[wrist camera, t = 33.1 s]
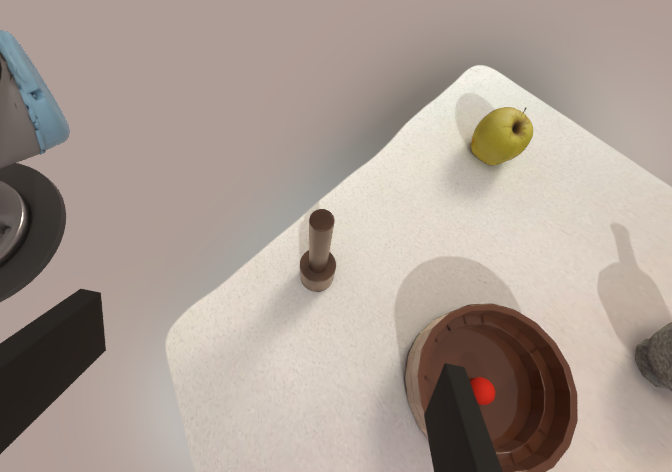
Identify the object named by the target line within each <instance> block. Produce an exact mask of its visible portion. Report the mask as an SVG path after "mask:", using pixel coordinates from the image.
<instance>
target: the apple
mask: <svg viewBox="0 0 672 472" xmlns="http://www.w3.org/2000/svg"><path fill="white" fill-rule="evenodd" d="M525 110H526V108H525ZM525 110H524V111H525ZM532 136H533V126H532V123H531V121H530V120H529V119H528V117H527V116H526V115H525V114H524V112H521V111H519V110H517V109H515V108H511V107H504V108H499V109H496V110H494V111H492V112H491V113H489V114H488V115H486V116H485V117H484V118H483V119H482V120H481V122H480V123H479V124H478V126H477V128H476V129H475V132H474V134H473V137H472V143H471V149H472V152H473V153H474V155H475V156H476V157H478V158H479V159H480V160H481V161H483V162H485V163H486V164H488V165H497V164H500V163H503V162H505V161H508V160H510V159H513V158H515V157H516V156H518V155H519V154H520V153H522V152H523V151H524V150H525V148H526V147H527V146H528V144H529V142H530V141H531V139H532Z"/></svg>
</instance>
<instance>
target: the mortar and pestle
mask: <svg viewBox="0 0 672 472" xmlns="http://www.w3.org/2000/svg"><path fill="white" fill-rule="evenodd" d="M635 360H636V362H637V364H638V366H639V369H640V371H641V373H642V375H643V376H644V377H645V378H647V379H648V380H649V381H650V382H651V383H653V384H654V385H655V386H657V387H663V388H669V389H670V390H672V322H671V323H669V324H668V325H666V326H665V327H663V328H662V329H661V330H659V331H658V332H656V333H655V334H654V335H653V336H652V337H651V338H650V339H646V340H645V341H643V342H642V343H641V344H639V345H638V346H637V351H636V359H635Z"/></svg>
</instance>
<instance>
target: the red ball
mask: <svg viewBox="0 0 672 472" xmlns="http://www.w3.org/2000/svg"><path fill="white" fill-rule="evenodd" d="M470 383H471V386H472V389H473V391H474V394H475V397H476V399H477V402H478V404H480V405H487V404H490V403H491V402H492V401H493V400H494V398H495V388H494V386H493V384H492V383H491V382H490V381H489V380H487V379H485V378H483V377H476V378H474V379H472V380H471V381H470Z"/></svg>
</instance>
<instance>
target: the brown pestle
mask: <svg viewBox="0 0 672 472" xmlns="http://www.w3.org/2000/svg"><path fill="white" fill-rule="evenodd" d="M333 227H334V216H333V215H332V213H331V212H329V211H328V210H325V209H319V210H316V211H314V212H313V213H312V214H311V216H310V219H309V250H308V251H307V252H306V253H305V254H304V255H303V256H302V258H301V261H300V274H301V281H302V283H303V285H304V286H305V287H306V288H307V289H309V290H311V291H316V292H318V291H323V290H325V289H327V288H328V287H329V286H330V285H331V283H332V280H333V277H334V273H335V269H336V262H335V258H334V256H333V255H332V254H331V253H330V252H329V251H330V245H331V239H332V233H333Z"/></svg>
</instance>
